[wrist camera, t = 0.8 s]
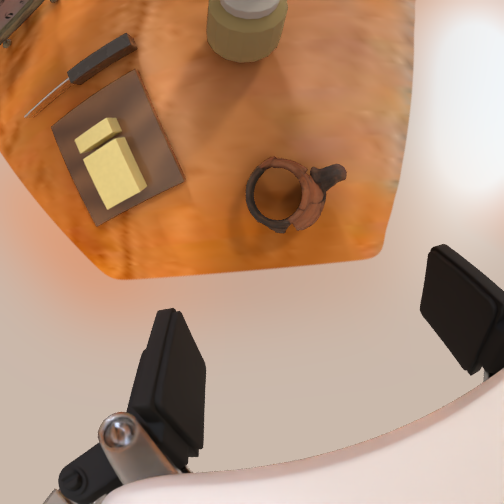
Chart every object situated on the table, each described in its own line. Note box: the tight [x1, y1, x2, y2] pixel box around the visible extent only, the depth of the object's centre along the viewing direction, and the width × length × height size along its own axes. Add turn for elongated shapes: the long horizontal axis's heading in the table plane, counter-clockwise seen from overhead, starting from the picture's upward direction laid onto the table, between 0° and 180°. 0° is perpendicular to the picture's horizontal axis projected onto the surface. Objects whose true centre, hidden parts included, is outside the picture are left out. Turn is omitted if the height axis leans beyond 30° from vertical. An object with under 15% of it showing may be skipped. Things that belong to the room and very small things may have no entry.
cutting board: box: [51, 69, 186, 226], centre depth 30 cm, size 16×14×1 cm
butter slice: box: [75, 118, 122, 154], centre depth 27 cm, size 2×5×3 cm, turn 112°
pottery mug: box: [246, 156, 347, 233], centre depth 32 cm, size 12×10×8 cm
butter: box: [83, 137, 147, 210], centre depth 29 cm, size 7×5×3 cm
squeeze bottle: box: [207, 0, 288, 63], centre depth 18 cm, size 8×8×18 cm
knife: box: [24, 33, 137, 118], centre depth 24 cm, size 2×18×3 cm, turn 112°
